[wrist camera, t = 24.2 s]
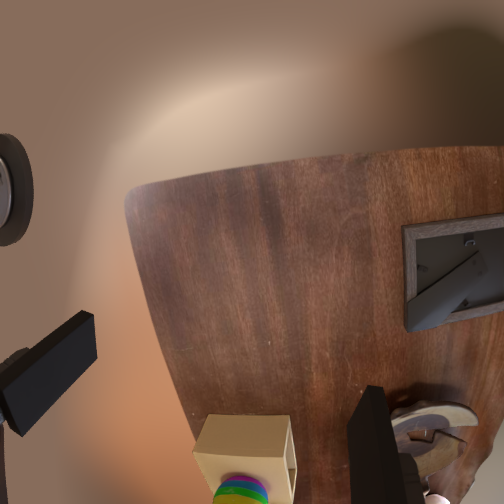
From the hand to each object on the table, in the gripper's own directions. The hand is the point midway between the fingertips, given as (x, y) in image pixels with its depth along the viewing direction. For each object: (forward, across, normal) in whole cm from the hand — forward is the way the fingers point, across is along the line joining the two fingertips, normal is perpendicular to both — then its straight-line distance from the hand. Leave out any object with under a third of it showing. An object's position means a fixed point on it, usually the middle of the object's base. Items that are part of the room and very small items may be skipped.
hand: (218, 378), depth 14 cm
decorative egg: (+17, +4, -37) cm, 41 cm away
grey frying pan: (+26, +31, -30) cm, 50 cm away
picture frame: (+26, +25, +2) cm, 36 cm away
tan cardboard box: (+26, +4, -37) cm, 45 cm away
